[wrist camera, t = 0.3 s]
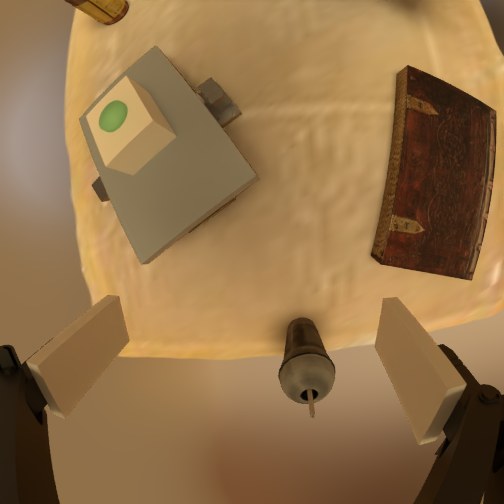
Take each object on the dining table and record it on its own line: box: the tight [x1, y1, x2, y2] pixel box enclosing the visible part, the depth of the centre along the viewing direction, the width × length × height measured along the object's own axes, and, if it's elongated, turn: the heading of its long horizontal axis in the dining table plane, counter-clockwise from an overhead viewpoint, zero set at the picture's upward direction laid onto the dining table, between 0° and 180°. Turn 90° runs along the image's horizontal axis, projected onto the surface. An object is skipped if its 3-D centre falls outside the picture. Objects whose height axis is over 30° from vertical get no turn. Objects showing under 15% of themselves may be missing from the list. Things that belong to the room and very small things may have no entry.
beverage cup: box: [279, 318, 335, 418], centre depth 34 cm, size 7×7×20 cm
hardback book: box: [371, 65, 496, 281], centre depth 33 cm, size 29×19×5 cm, turn 172°
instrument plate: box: [79, 46, 259, 265], centre depth 28 cm, size 26×16×8 cm, turn 36°
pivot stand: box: [92, 78, 242, 233], centre depth 35 cm, size 16×22×7 cm
